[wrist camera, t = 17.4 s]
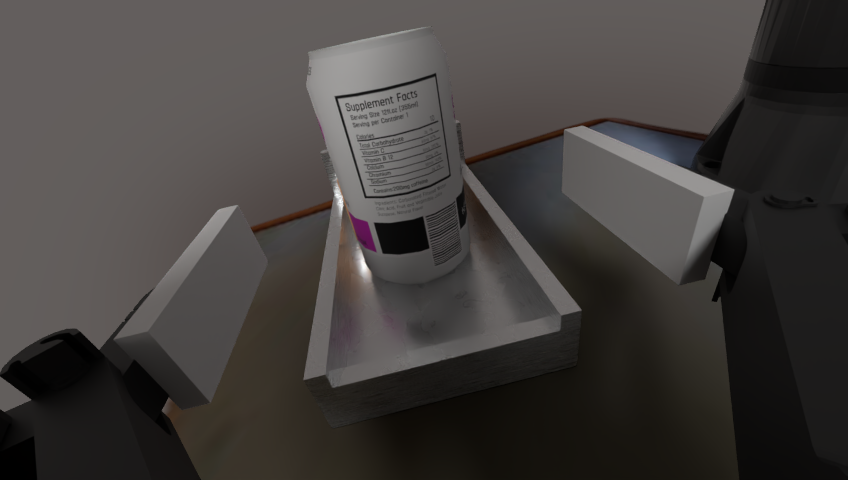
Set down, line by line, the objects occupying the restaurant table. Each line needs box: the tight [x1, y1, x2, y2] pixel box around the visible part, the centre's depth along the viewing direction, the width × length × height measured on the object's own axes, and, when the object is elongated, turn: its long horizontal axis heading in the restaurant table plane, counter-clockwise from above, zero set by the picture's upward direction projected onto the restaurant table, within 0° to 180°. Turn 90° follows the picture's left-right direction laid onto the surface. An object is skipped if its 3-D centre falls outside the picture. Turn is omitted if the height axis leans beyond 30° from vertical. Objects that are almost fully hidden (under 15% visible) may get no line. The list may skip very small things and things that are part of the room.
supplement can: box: [306, 26, 470, 285], centre depth 23 cm, size 8×8×15 cm
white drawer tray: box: [304, 120, 582, 428], centre depth 25 cm, size 22×13×8 cm, turn 9°
